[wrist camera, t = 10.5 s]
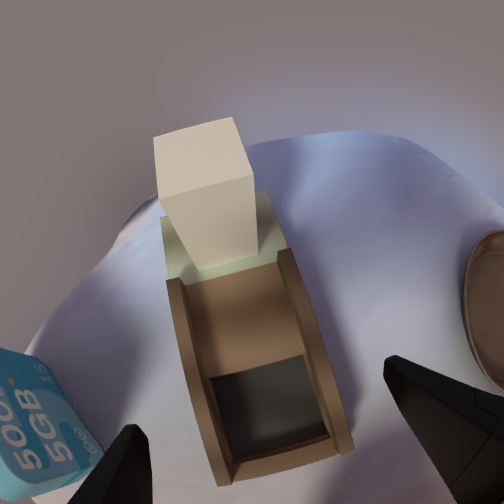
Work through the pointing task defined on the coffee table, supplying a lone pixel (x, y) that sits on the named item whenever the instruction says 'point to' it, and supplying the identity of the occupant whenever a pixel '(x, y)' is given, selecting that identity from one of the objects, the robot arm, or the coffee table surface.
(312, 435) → the walnut channel
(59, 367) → the coffee table surface
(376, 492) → the coffee table surface
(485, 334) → the plant saucer
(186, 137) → the cream block
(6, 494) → the data package
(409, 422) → the robot arm
